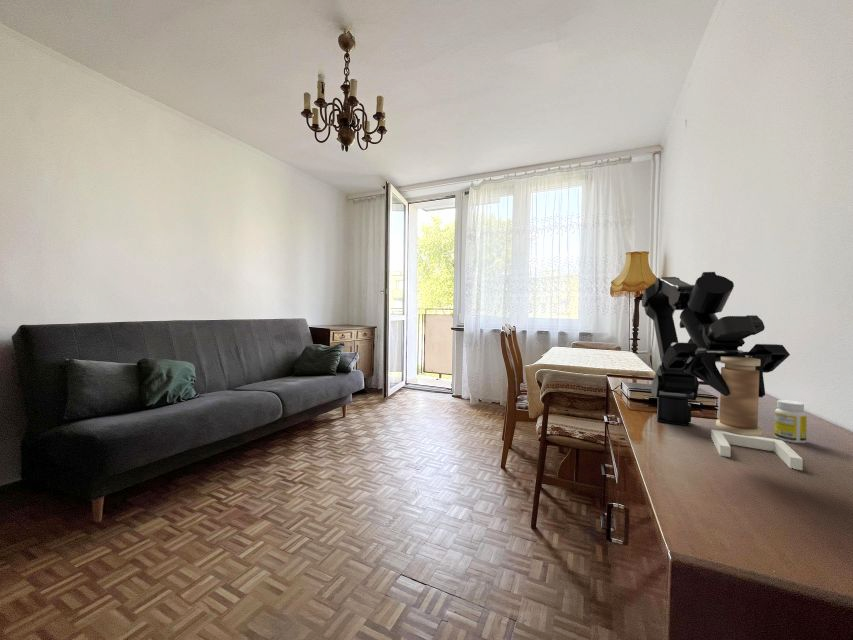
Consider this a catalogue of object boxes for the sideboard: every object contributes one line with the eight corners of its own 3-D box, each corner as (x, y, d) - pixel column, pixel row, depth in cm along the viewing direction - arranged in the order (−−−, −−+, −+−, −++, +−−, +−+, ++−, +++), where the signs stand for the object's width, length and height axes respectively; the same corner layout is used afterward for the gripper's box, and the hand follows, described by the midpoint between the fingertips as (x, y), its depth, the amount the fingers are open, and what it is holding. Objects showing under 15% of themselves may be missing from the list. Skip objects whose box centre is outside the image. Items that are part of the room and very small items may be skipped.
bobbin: (718, 431, 59) (720, 358, 59) (713, 422, 64) (715, 355, 64) (765, 439, 56) (768, 361, 56) (756, 428, 61) (758, 357, 60)
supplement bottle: (796, 437, 75) (797, 400, 75) (812, 445, 71) (813, 405, 71) (769, 434, 77) (770, 398, 77) (783, 442, 72) (784, 403, 72)
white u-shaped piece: (720, 455, 65) (720, 445, 65) (711, 438, 74) (711, 429, 74) (802, 470, 59) (802, 459, 59) (781, 450, 68) (781, 440, 68)
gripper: (671, 301, 65) (708, 366, 54) (782, 301, 62) (844, 370, 51) (650, 338, 73) (678, 402, 62) (747, 339, 70) (794, 407, 59)
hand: (745, 395), depth 58 cm, fingers closed on bobbin, 5 cm apart
